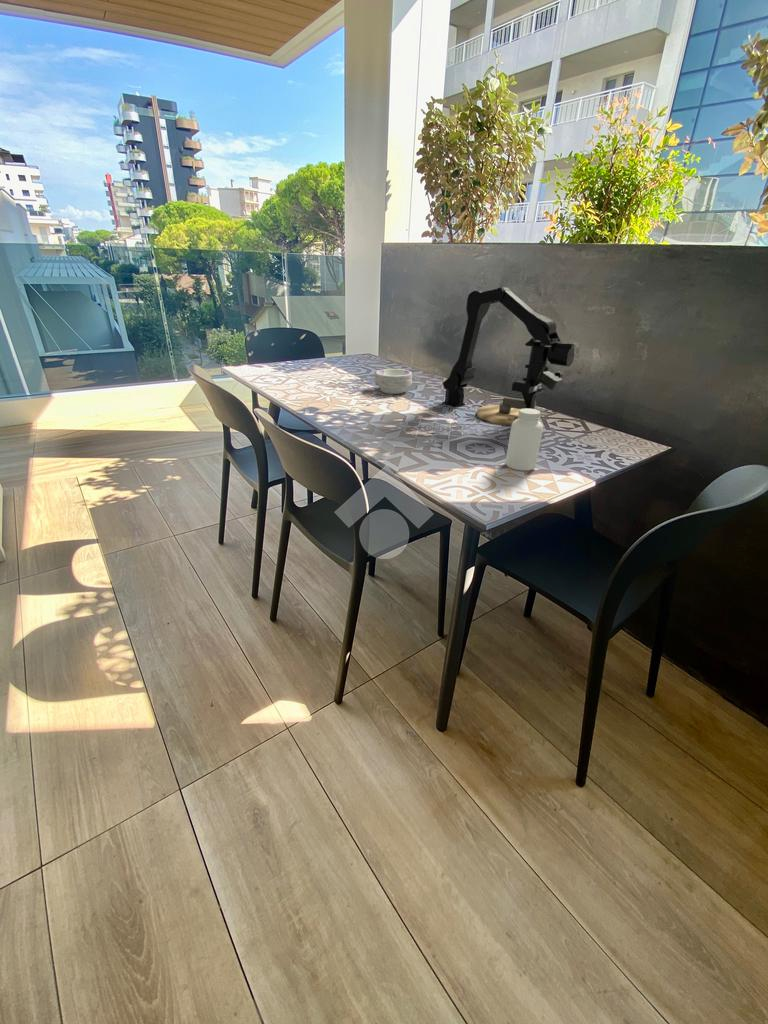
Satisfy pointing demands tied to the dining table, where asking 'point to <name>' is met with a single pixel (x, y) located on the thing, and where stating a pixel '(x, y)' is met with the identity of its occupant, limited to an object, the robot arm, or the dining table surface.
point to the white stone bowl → (393, 380)
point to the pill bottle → (524, 440)
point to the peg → (515, 405)
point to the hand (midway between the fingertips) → (528, 409)
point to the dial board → (497, 415)
